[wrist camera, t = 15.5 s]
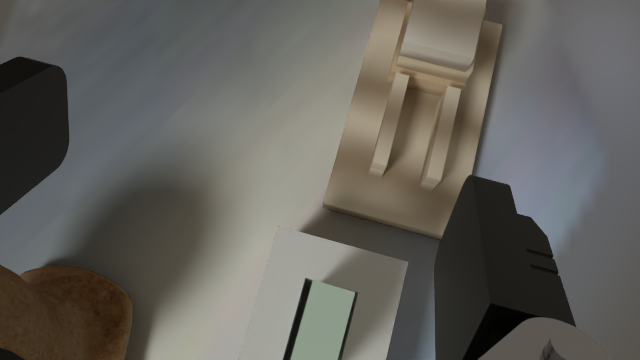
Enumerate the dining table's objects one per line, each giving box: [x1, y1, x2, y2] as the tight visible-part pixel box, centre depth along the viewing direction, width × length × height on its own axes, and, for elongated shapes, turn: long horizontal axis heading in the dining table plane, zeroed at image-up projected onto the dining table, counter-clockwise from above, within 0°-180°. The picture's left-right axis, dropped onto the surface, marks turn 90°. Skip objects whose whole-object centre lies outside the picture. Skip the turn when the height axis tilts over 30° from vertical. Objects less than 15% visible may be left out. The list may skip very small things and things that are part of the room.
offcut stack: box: [387, 0, 487, 98], centre depth 40 cm, size 6×6×6 cm
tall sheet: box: [290, 280, 355, 360], centre depth 31 cm, size 5×2×14 cm, turn 164°
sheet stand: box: [238, 226, 408, 360], centre depth 35 cm, size 12×8×8 cm, turn 165°
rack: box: [323, 0, 503, 240], centre depth 41 cm, size 18×10×4 cm, turn 165°
